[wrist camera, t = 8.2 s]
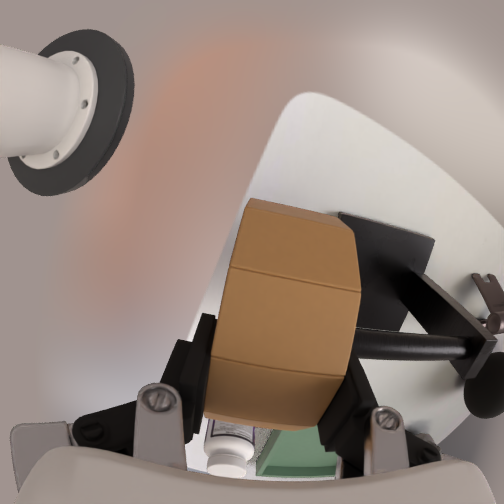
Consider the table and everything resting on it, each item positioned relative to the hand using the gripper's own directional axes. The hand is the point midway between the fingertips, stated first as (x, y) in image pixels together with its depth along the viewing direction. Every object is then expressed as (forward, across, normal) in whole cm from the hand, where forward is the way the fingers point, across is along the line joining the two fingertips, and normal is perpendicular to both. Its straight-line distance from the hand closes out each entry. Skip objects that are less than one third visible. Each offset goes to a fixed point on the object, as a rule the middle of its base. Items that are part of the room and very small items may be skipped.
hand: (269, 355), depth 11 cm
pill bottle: (+13, 0, +20) cm, 24 cm away
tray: (+13, -14, +27) cm, 33 cm away
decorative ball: (+13, -36, +11) cm, 40 cm away
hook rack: (+13, -9, 0) cm, 16 cm away
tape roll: (+3, 0, 0) cm, 3 cm away
